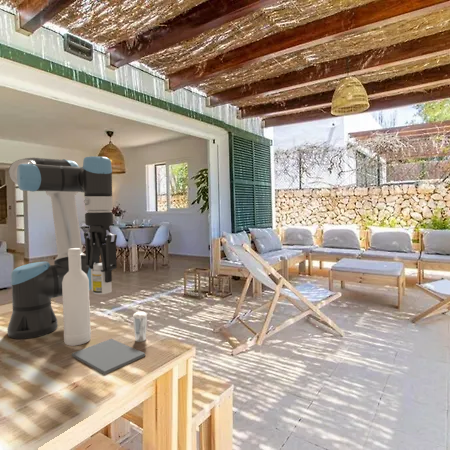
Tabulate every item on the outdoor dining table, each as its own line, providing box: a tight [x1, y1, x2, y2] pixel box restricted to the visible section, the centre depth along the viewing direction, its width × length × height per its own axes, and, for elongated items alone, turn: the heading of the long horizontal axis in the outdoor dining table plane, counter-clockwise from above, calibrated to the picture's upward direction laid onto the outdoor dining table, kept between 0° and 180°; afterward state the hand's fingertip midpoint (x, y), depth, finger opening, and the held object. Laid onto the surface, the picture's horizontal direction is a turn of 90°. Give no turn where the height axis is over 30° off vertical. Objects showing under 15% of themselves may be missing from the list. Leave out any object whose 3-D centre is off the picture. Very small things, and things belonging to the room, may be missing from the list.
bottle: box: [62, 248, 92, 347], centre depth 106 cm, size 8×8×30 cm
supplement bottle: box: [92, 262, 107, 295], centre depth 96 cm, size 5×5×8 cm
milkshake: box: [132, 309, 150, 343], centre depth 107 cm, size 4×5×10 cm
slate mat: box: [71, 338, 146, 375], centre depth 96 cm, size 17×13×1 cm
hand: (101, 291), depth 96 cm, fingers closed on supplement bottle, 5 cm apart
